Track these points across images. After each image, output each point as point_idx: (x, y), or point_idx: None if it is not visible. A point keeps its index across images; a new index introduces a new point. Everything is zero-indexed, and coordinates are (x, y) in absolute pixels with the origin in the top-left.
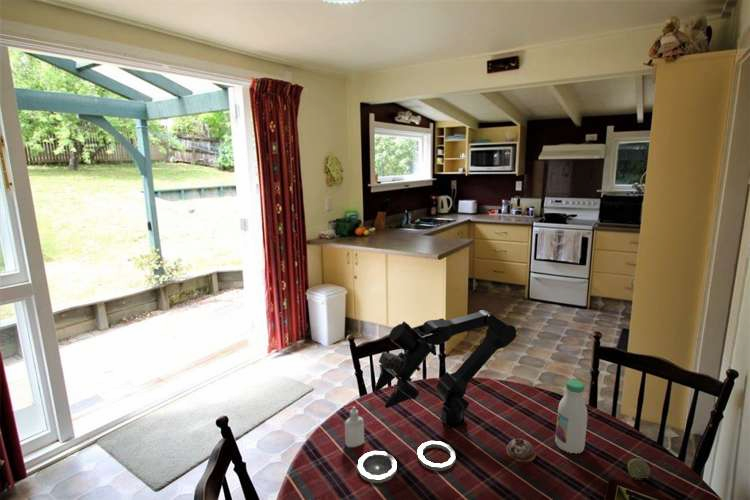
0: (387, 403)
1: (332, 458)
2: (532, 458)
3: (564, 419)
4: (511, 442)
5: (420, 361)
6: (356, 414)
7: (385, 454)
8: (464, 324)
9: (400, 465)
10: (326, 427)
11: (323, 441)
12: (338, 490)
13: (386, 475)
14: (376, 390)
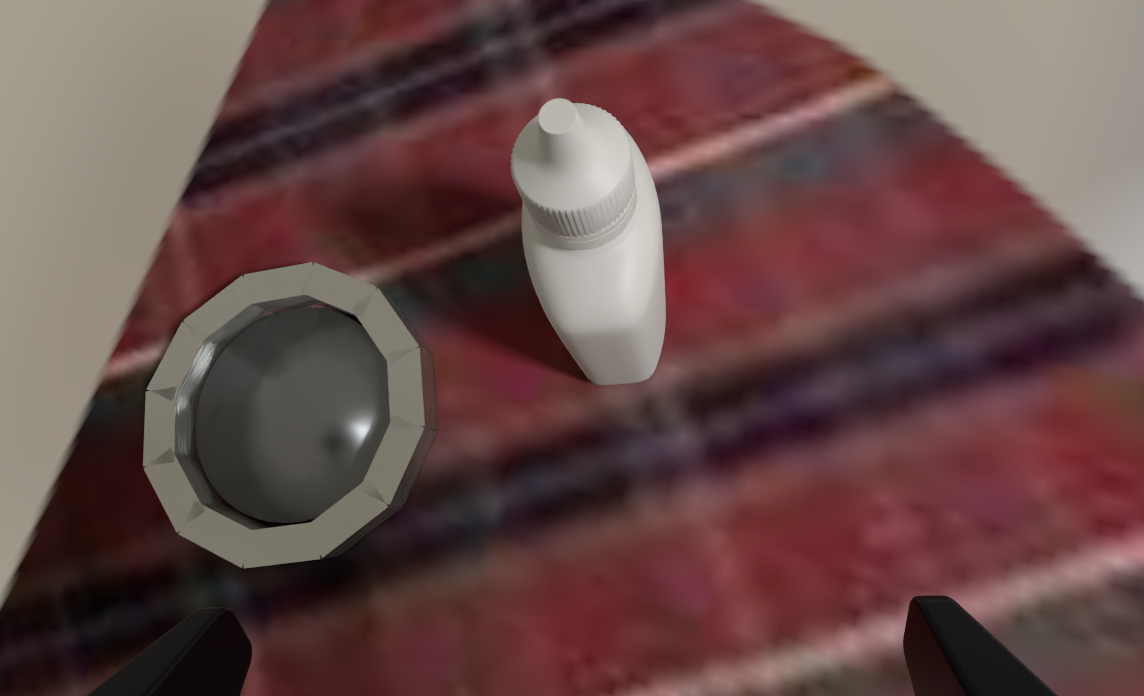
0: (104, 682)
1: (505, 125)
2: None
3: None
4: None
5: None
6: (517, 189)
7: (352, 506)
8: None
9: (258, 597)
10: (899, 111)
11: (713, 77)
12: (228, 134)
13: (156, 442)
14: (915, 649)
